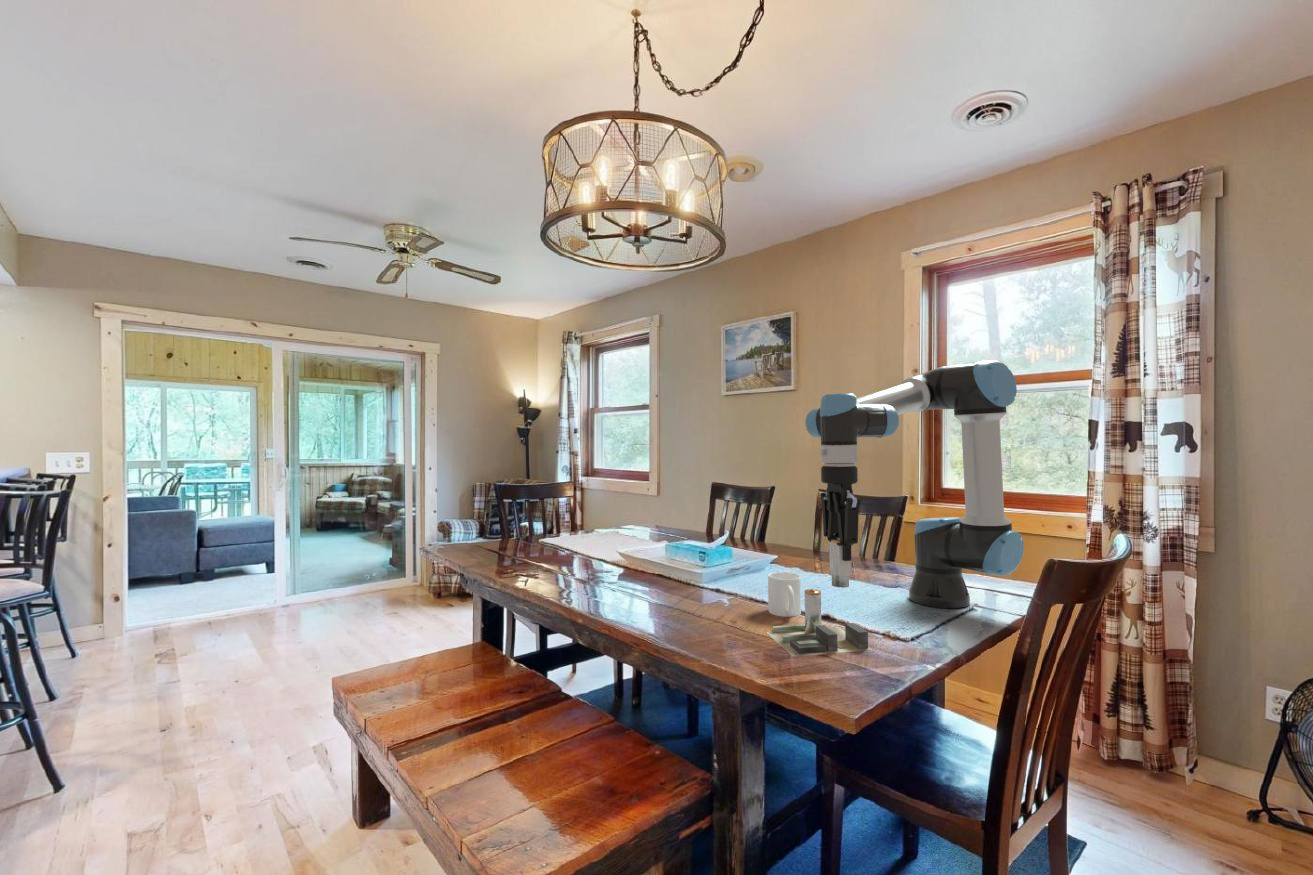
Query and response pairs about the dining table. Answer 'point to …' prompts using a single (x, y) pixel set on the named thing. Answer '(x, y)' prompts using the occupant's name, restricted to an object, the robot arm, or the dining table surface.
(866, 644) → the grey battery holder
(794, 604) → the mug
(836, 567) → the cylinder
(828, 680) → the dining table surface
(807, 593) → the cell
